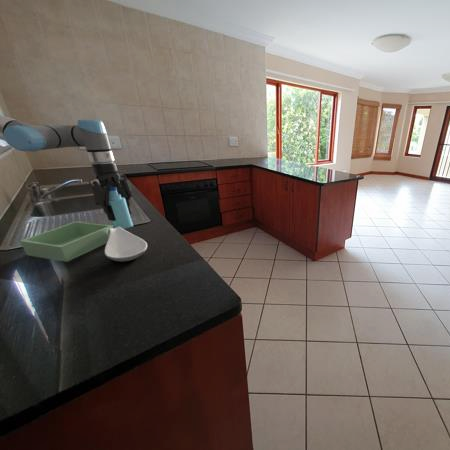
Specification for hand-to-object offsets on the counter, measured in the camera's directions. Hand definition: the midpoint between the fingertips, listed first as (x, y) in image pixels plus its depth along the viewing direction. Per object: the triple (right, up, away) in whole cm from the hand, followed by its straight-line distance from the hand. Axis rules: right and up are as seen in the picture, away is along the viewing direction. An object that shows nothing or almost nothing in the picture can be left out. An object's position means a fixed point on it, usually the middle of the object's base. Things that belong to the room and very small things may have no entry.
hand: (120, 217), depth 102 cm
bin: (-5, -12, -15) cm, 20 cm away
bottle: (0, -5, +2) cm, 5 cm away
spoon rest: (+14, -13, -17) cm, 26 cm away
